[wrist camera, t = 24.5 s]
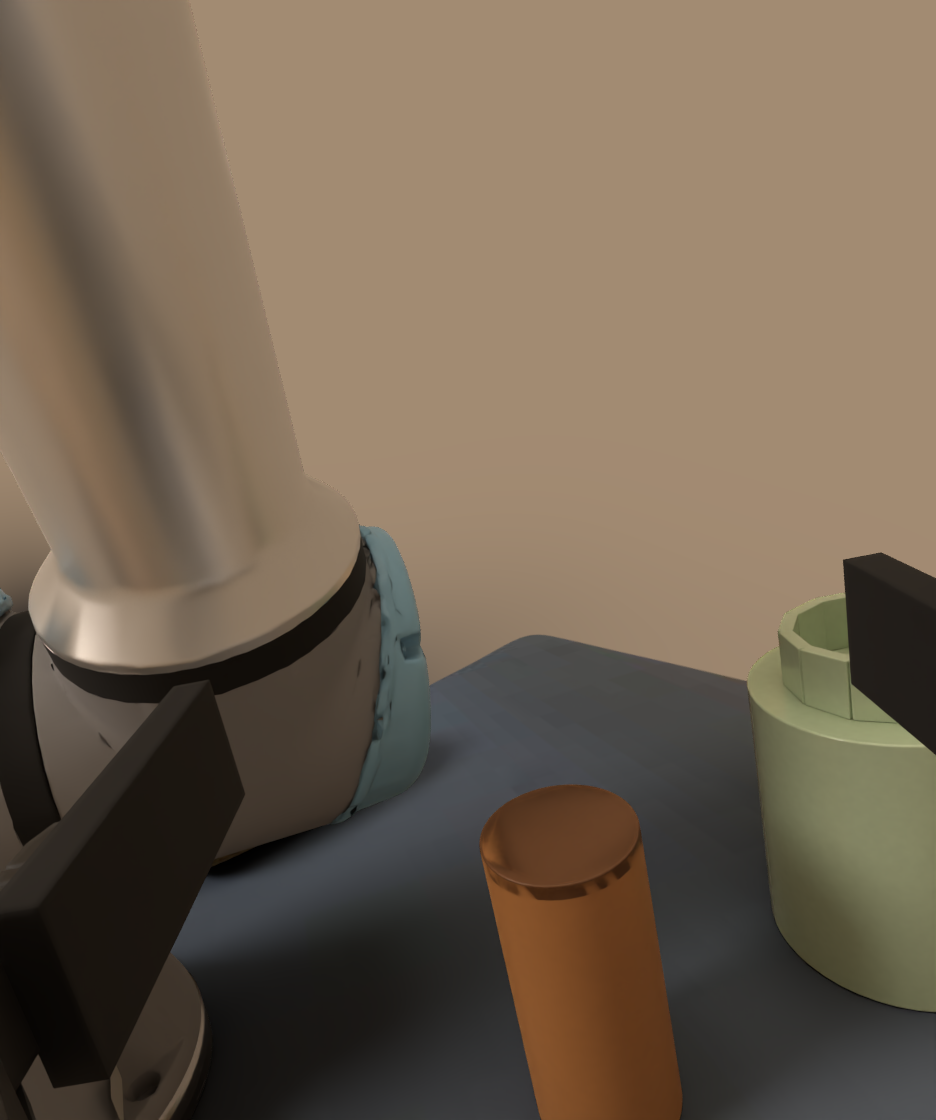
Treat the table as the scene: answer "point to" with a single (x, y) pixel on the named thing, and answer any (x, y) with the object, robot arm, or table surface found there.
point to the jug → (844, 816)
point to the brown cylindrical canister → (583, 954)
